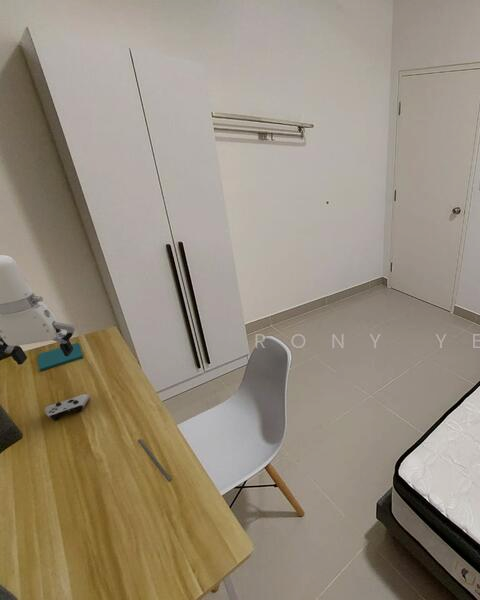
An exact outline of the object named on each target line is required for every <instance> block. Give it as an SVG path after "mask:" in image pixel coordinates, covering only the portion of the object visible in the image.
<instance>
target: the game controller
mask: <svg viewBox="0 0 480 600" xmlns="http://www.w3.org/2000/svg"><path fill="white" fill-rule="evenodd" d="M89 400H90V395H89V394H85V393H84V394H81V395H77V396H75V397H72V398H69V399H66V400H63V401H58V402H56V403H52V404H50V405H48V406H46V407H44V413H45V415H46V416H47V417H48V418H49V419H51V420H53V421H55V422H56V421H58V420H59V418H60V417H61V416H65V415H68V414H70V413H73V412H75V411H77V412H79V413H81V412H82V411H83V410H84V409H85V405H86V404H87V403H88V401H89Z"/></svg>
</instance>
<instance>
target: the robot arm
mask: <svg viewBox="0 0 480 600" xmlns="http://www.w3.org/2000/svg"><path fill="white" fill-rule="evenodd" d="M43 301H44V298H43V296H41V295H40V296H38V295H37V296H36V294H35V293H34V292H33V291H32V289H31V287H30V285H29V283H28V282H27V279H26V278H25V277H24V275H23V272H22V271H21V269H20V267H19V265H18V263H17V262H16V260H15V259H14V258H13V257H11V256H10V255H6V254H0V339H2V340H3V341H1V340H0V351H3V352H4V353H6V354H9V355H10V357H11V358H12V359H13V361H15V362H16V364H17V365H18V366H19V365H20V366H21V365H23V364H24V363H25V362H26V361H27V359H28V355H26V353H25V351H24V350H23V348H22V347H21V346H24V345H31V344H37V343H44V342H48V341H54V342H56V343H58V344H59V348H61V350H62V351H63V353H64V355H65V356H69V355H70V354H71V352H72V351H73V347H72V345H71V344H72V342H71V341H70V339H71V338H72V337H73V335H74V334H75V330H76V325H75V324H70V323H64V322H59V321H58V319H57V318H56V316H55V314H53V312H52V311H51V310H50V308H48V306H47V305H46V304H45V303H43ZM62 331H66V333H64V332H62Z"/></svg>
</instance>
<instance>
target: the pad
mask: <svg viewBox="0 0 480 600" xmlns="http://www.w3.org/2000/svg"><path fill="white" fill-rule="evenodd" d="M71 345H72V347H73V351H72V352H71V354H70V355H69V356H65V355H64V353H63V351H62V350H61V348H60V347H57V348H55V349H51V350H48V351H44V352H40V353H37V354H36V355H37V363H38V370H39V371H40V372H43V371H46V370H50V369H52V368H56V367H58V366H63V365H65V364H68V363H72V362H75V361H78V360H81V359H84V355H83V352H82V349H81V345H80V343H79V342H75V343H71Z"/></svg>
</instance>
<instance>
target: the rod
mask: <svg viewBox="0 0 480 600" xmlns="http://www.w3.org/2000/svg"><path fill="white" fill-rule="evenodd" d="M137 442H138V443H139V445H140V446H141V447H142V448H143V450H144V451H145V452H146V454H147V455H148V456H149V458H150V459H151V460H152V462H153V463H154V464H155V466H156V467H157V468H158V470H159V471H160V473H161V474H162V475H163V476H164V477H165V479H166V480H167V481H168V483H170V482H172V478H171V476H170V475H169V474H168V473H167V471H166V470H165V468H164V467H163V466H162V465H161V464H160V462H159V461H158V460H157V458H156V456H155V455H154V453H152V452H151V451H150V449H149V448H148V446H147V445H146V443H145V442H143V440H142V439H141V438H139V439H138V440H137Z"/></svg>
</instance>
